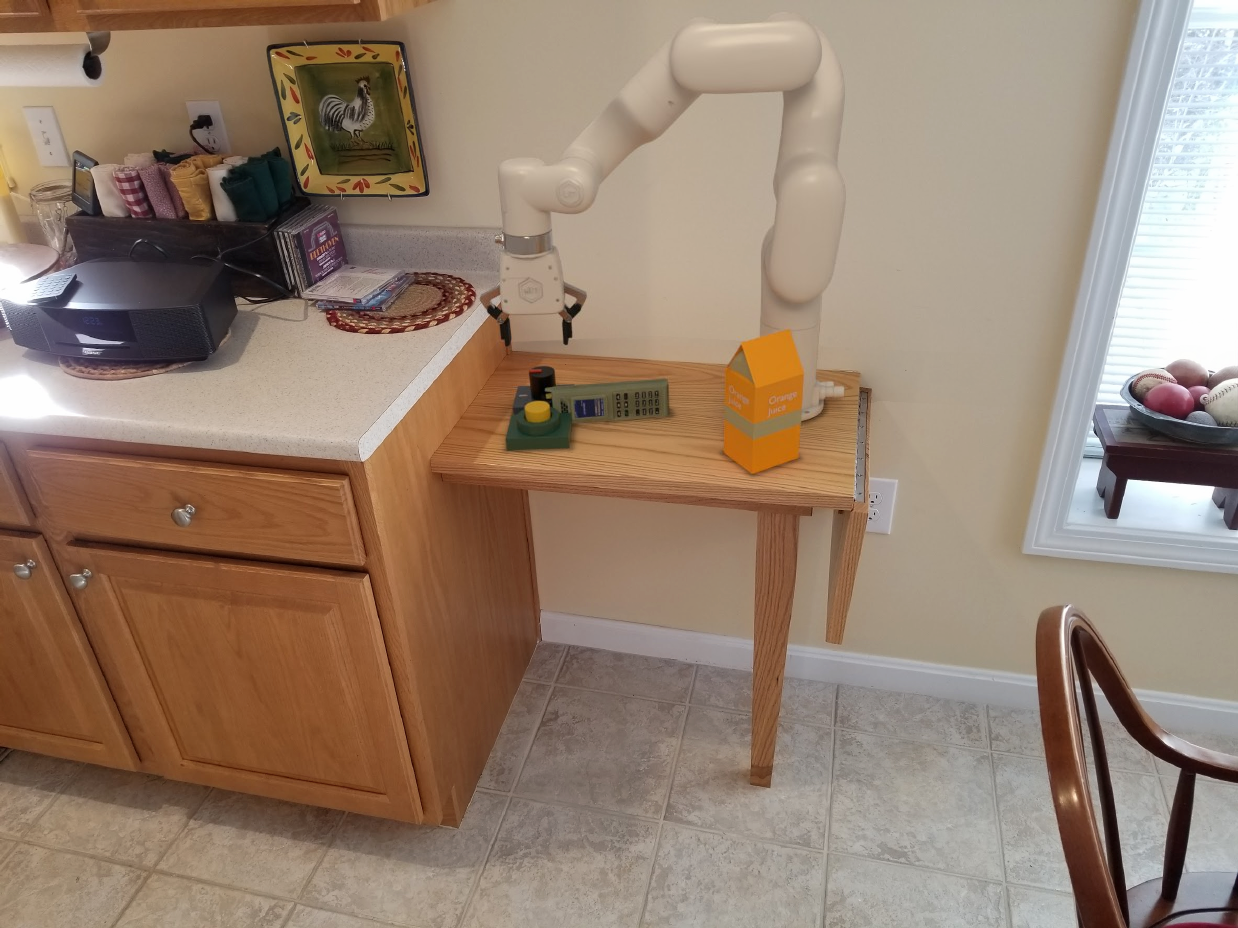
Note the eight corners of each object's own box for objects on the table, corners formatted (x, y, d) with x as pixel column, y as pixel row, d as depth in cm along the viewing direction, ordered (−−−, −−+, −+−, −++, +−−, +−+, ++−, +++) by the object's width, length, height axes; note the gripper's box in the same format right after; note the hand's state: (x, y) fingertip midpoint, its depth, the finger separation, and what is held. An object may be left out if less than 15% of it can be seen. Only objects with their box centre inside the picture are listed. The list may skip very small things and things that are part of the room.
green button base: (572, 424, 152) (570, 402, 149) (569, 448, 145) (567, 426, 143) (512, 426, 152) (510, 405, 150) (507, 450, 145) (504, 428, 143)
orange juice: (722, 452, 141) (724, 333, 131) (769, 436, 145) (774, 320, 134) (752, 474, 136) (756, 352, 125) (799, 458, 139) (807, 337, 128)
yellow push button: (551, 411, 148) (550, 400, 147) (549, 423, 145) (548, 412, 144) (527, 412, 148) (525, 401, 147) (524, 424, 145) (523, 412, 144)
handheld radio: (669, 420, 152) (521, 431, 151) (667, 411, 155) (521, 422, 154) (669, 384, 149) (516, 395, 148) (666, 376, 152) (517, 386, 151)
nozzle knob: (557, 388, 157) (555, 363, 155) (555, 400, 154) (553, 375, 151) (532, 389, 157) (529, 364, 155) (530, 401, 154) (527, 376, 151)
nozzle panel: (575, 395, 160) (574, 382, 159) (572, 419, 153) (571, 405, 152) (519, 397, 161) (517, 384, 159) (513, 421, 153) (512, 407, 152)
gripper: (469, 250, 138) (482, 353, 147) (582, 247, 138) (588, 350, 147) (477, 235, 145) (488, 334, 154) (585, 232, 144) (590, 332, 153)
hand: (537, 342), depth 150 cm, fingers open, 9 cm apart
